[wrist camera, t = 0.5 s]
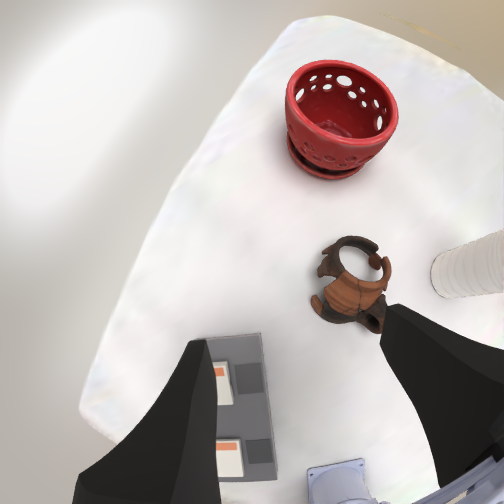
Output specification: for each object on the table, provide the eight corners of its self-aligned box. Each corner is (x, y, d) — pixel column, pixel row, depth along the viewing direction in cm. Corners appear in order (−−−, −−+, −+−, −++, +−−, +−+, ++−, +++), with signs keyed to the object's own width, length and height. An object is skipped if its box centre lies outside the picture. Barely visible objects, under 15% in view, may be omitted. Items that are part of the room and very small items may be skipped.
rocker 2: (244, 472, 27) (243, 476, 26) (215, 473, 28) (213, 476, 26) (240, 438, 29) (238, 440, 28) (211, 438, 29) (208, 441, 28)
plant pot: (291, 193, 38) (295, 146, 26) (278, 115, 40) (277, 58, 28) (382, 187, 37) (416, 144, 25) (360, 112, 39) (379, 60, 28)
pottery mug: (289, 290, 36) (307, 248, 30) (337, 259, 40) (359, 218, 34) (352, 362, 31) (389, 335, 24) (395, 319, 35) (429, 286, 29)
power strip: (277, 468, 31) (277, 480, 28) (219, 471, 31) (215, 482, 28) (260, 332, 35) (258, 335, 32) (197, 338, 35) (190, 341, 32)
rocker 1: (234, 398, 30) (232, 404, 29) (204, 399, 31) (201, 406, 29) (227, 360, 30) (225, 365, 29) (196, 362, 30) (192, 367, 29)
